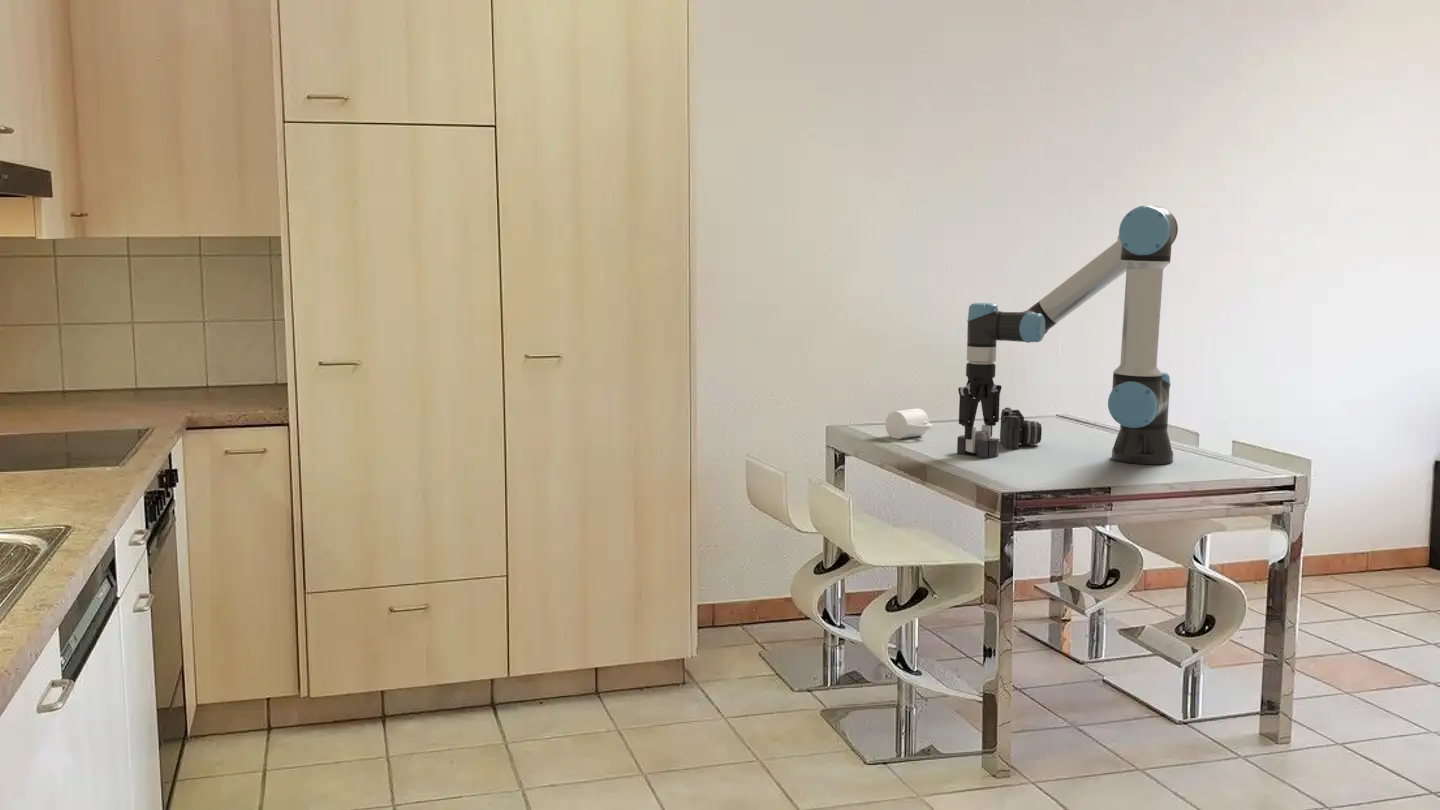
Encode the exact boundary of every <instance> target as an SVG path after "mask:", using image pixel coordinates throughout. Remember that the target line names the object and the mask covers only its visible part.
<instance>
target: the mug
mask: <svg viewBox="0 0 1440 810" xmlns="http://www.w3.org/2000/svg"><path fill="white" fill-rule="evenodd" d="M884 424H885V430H886V433H887V435H888V436H889V437H890V438H891V437H892V439H893V438H898V439H897V440H903V439H902V438H904V439H909V438H910V437H911V438H915V437H916V438H918V437H921V436H923V435H925V434H926V433H927V431H928V430H931V429H932V428H933V424H932V423H930V421H929V416H928V414H927V413H926V412H925V410H923V409H921V408H911V409H901V410H896V411H891V412H890V413H889V414H888V415H887V416H886V417H885V422H884Z"/></svg>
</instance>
